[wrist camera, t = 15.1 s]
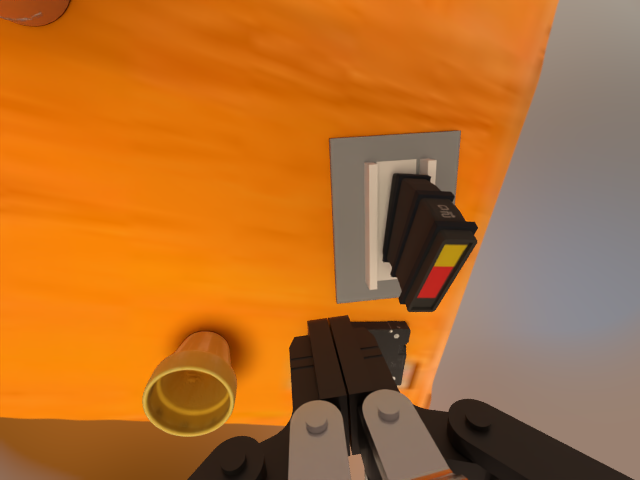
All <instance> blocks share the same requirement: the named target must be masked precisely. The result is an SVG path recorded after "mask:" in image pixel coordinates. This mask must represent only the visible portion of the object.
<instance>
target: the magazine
mask: <svg viewBox="0 0 640 480" xmlns="http://www.w3.org/2000/svg"><path fill="white" fill-rule="evenodd" d="M430 180H431V176H429V175H420V174H404V173H394V174H393V177H392V184H391V192H390V199H389V207H388V214H387V222H386V229H385V237H384V244H383V252H382V253H383V259H382V261H383V262H388V263H390V265H391V267H392V270H391V273H390V275H391V277H397V279H398V282H399V284H400V287H401V291H402V292H401V294H400V296H399V302H400V304H406V307H407V310H408V311H409V312H433V311H435V310H436V308H437V307H438V305H439V303H440V302H441V300H442V299H443V297H444V295H445V294H446V292H447V290H448V289H449V287H450V286H451V284H452V282H453V281H454V279H455V278H456V276H457V274H458V273H459V271H460V269H461V268H462V266H463V265H464V263H465V261H466V260H467V258H468V257H469V255H470V253H471V252H472V250H473V248H474V247H475V245H476V244H477V240H476V238H475V236H474V234H475V232H476V231H477V229H478V227H477V225H476V224H475V222H466V221H465V219H464V218H463V216H462V214H461V213H460V211H459V210H458V209H457V207H456V206H455V205H454V204H453V203H452V202H453V200H454V198H455V196H454V194H453V193H452V192H449V191H441V190H440V189H439V188H438V187H437V186H436V185H434V184H433V183H431V182H430Z"/></svg>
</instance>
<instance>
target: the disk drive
mask: <svg viewBox="0 0 640 480" xmlns="http://www.w3.org/2000/svg"><path fill="white" fill-rule="evenodd" d="M351 325H352V327H353V329H354V328H361V327H365V328H366V329H367V330H368V331H369V332H370V333H372V334H373V335H374V337H375V339H376V341H377V344H378V346H379V348H380V350H381V352H382V355H383V357H384V359H385V361H386V363H387V366H388V368H389V370H390V372H391V374H392V377H393V379H394V381H395V383H396V385H401V382H402V376H403V370H404V365H405V359H406V345H405V344H407V343H408V342H409V336H410V329H409V327H408V325H407V324H406V322H405V321H398V322H397V321H387V322H351ZM308 335H309V334H308Z"/></svg>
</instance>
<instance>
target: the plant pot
mask: <svg viewBox="0 0 640 480" xmlns="http://www.w3.org/2000/svg"><path fill="white" fill-rule="evenodd" d="M236 389H237V379H236V375H235V372H234V370H233V369H232V367H231V359H230V348H229V345H228V343H227V341H226V340H225V339H224V338H223V337H222V336H220V335H218V334H216V333H214V332H209V331H201V332H197V333H194V334H192V335H190V336H189V337H187V338H186V339H185V341H184V342H183V343H182V344H181V345H180V346H179V348H178V349H177V350H176V351H175V352H174V353H173V354H172V355H170V356H168V357H167V358H165V359H164V360H163V361H162V362H161V363H160V364H159V365H158V366H157V367H156V369H155V371H154V372H153V374H152V376H151V378H150V379H149V381H148V383H147V386H146V388H145V390H144V393H143V400H142V403H143V409H144V412H145V414H146V416H147V417H148V419H149V420H150V421H151V422H152V423H153V424H154V425H155V426H156V427H158V428H159V429H161V430H163V431H164V432H167V433H169V434H173V435H177V436H199V435H204V434H207V433H210V432H212V431H214V430H216V429H218V428H219V427H220V426H222V425H223V424H224V423H225V422H226V421H227V420H228V418H229V417H230V415H231V413H232V411H233V408H234V403H235V398H236Z"/></svg>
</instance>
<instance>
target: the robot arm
mask: <svg viewBox="0 0 640 480" xmlns="http://www.w3.org/2000/svg"><path fill="white" fill-rule="evenodd" d="M68 3H69V0H0V17H1V18H3V19H6V20H9V21H12V22H15V23H18V24H22V25H26V26H41V25H46V24H48V23H51V22H53V21H55V20H56V19H57V18H58V17H60V16H61V15H62V13H63V12H64V11H65V9H66V8H67V6H68ZM307 324H308V334H309V335H306V336H299V337H294V339H293V341H292V343H291V345H290V347H289V351H290V367H291V383H292V400H293V412H292V416H291V419H290V421H289V422H288V424H287V425H286V426H285V428H284V429H283V430H282V431H280V432H279V433H278V434H277V435H275V436H273V437H271V438H269V439H267V440H265V441H263V442H261V443H258V442H257V441H256V440H255V439H253V438H251V437H247V436H237V437H234V438H230V439H228V440H226V441H224V442H223V443H221V444H220V445H219V446H217V447H216V448H215V449H214V450H213V452H212V453H211V454H210V455H209V456H208V457H207V458H206V459H205V461H204V462H203V463H202V464H201V465H200V466H199V467H198V468H197V470H196V471H195V472H194V473H193V474H192V475H191V476H190V477H189V478H188V480H351V476H350V468H349V461H348V456H350V446H351V451H352V455H356V454H361V456H362V460H363V463H364V468H365V480H634V479H632V478H630V477H628V476H626V475H624V474H622V473H620V472H618V471H616V470H614V469H612V468H610V467H608V466H607V465H605V464H603V463H600V462H599V461H597V460H595V459H593V458H591V457H589V456H587V455H585V454H583V453H581V452H579V451H577V450H575V449H573V448H572V447H570V446H568V445H566V444H564V443H562V442H560V441H558V440H556V439H554V438H552V437H550V436H548V435H546V434H545V433H543V432H541V431H539V430H537V429H535V428H533V427H531V426H529V425H527V424H525V423H523V422H521V421H519V420H517V419H515V418H514V417H512V416H510V415H508V414H506V413H504V412H502V411H500V410H498V409H496V408H494V407H492V406H490V405H488V404H486V403H484V402H481V401H478V400H474V399H463V400H459V401H456V402H455V403H454V404H452V405H451V407H450V409H449V412H443V411H436V410H428V409H424V408H420V407H418V406H415V405H413V404H412V403H411V401H410V400H409V399H408V398H407V397H406V396H404V395H403V394H401V393H400V392H399V390H398V388H397V385H396V383H395V381H394V379H393V377H392V374H391V372H390V370H389V368H388V366H387V363H386V361H385V359H384V357H383V355H382V352H381V350H380V348H379V346H378V344H377V341H376V339H375V337H374V335H373V334H372V333H370V332H369V331H368V330H367V329H366V328H365V327H361V328H354V329H353V327H352V325H351V322H350V319H349V317H348V315H346V316H339V317H331V318H328V320H327V318H325V319H317V320H310V321H307Z"/></svg>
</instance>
